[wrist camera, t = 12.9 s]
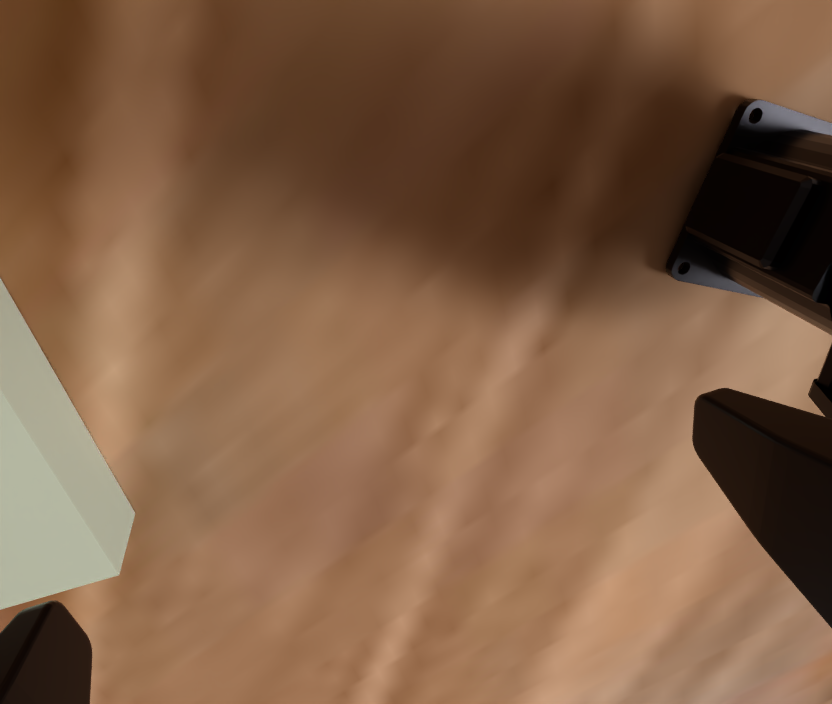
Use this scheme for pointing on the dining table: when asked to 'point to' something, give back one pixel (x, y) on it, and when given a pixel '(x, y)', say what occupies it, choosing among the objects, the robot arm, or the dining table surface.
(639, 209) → the dining table surface
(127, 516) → the slotted base
